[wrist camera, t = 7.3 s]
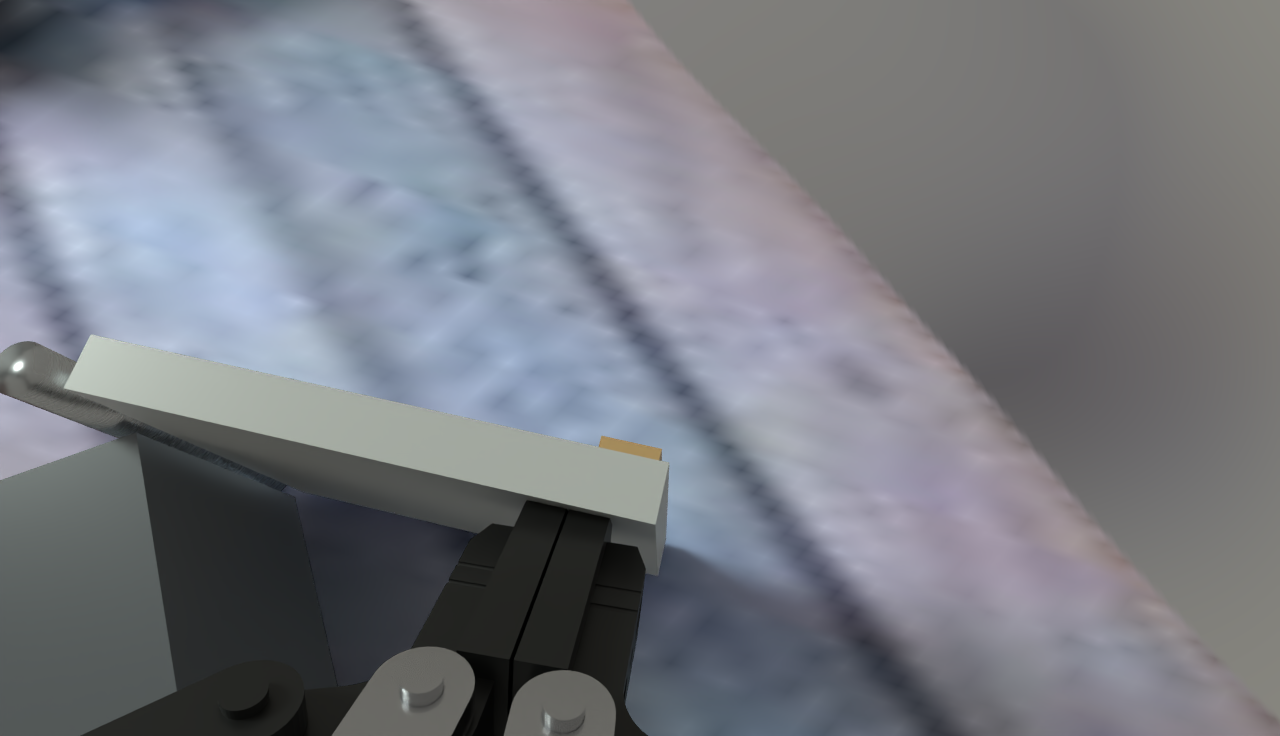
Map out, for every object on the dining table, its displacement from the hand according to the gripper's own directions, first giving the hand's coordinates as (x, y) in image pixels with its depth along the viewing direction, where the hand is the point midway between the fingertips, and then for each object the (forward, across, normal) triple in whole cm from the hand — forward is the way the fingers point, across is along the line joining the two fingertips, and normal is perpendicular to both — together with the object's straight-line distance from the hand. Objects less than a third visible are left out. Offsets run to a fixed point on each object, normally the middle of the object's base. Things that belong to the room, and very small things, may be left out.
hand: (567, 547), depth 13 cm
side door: (+7, +4, +4) cm, 9 cm away
